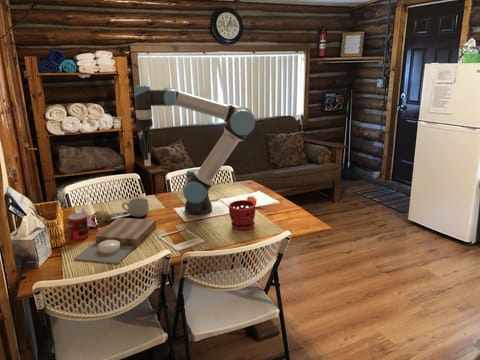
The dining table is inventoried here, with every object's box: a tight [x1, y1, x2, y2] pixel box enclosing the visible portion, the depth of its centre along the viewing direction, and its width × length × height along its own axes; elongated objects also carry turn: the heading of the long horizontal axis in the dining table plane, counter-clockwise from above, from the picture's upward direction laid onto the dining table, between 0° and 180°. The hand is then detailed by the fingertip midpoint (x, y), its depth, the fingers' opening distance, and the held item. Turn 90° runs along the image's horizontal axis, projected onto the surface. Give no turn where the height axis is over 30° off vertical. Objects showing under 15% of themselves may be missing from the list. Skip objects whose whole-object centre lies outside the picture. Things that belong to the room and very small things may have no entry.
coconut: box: [91, 210, 112, 227], centre depth 201 cm, size 10×10×8 cm
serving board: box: [94, 217, 157, 248], centre depth 186 cm, size 20×22×4 cm
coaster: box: [98, 240, 120, 254], centre depth 171 cm, size 9×9×2 cm
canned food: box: [67, 212, 90, 242], centre depth 183 cm, size 8×8×11 cm
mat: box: [73, 242, 135, 265], centre depth 168 cm, size 20×15×1 cm
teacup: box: [121, 197, 150, 218], centre depth 210 cm, size 14×11×8 cm
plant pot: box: [228, 199, 256, 231], centre depth 194 cm, size 13×13×12 cm
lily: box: [73, 206, 98, 228], centre depth 193 cm, size 12×12×10 cm
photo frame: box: [158, 228, 206, 252], centre depth 181 cm, size 15×1×18 cm
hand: (147, 165), depth 196 cm, fingers closed
